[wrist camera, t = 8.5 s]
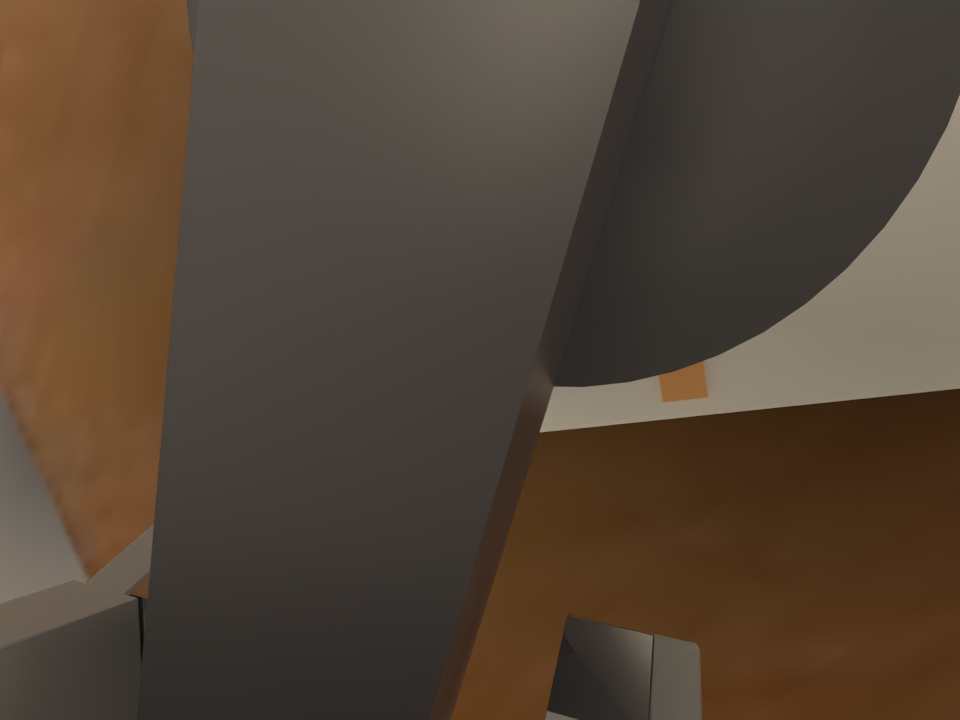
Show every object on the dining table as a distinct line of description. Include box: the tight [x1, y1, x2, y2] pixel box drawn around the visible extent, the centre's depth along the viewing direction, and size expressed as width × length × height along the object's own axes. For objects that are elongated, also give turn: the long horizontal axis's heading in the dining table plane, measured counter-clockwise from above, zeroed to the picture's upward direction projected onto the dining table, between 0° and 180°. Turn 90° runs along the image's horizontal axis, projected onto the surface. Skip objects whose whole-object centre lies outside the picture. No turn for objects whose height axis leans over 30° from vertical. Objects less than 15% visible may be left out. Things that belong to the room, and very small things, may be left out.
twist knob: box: [137, 0, 960, 720], centre depth 8 cm, size 14×8×7 cm, turn 166°
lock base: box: [540, 95, 960, 432], centre depth 15 cm, size 20×20×12 cm
